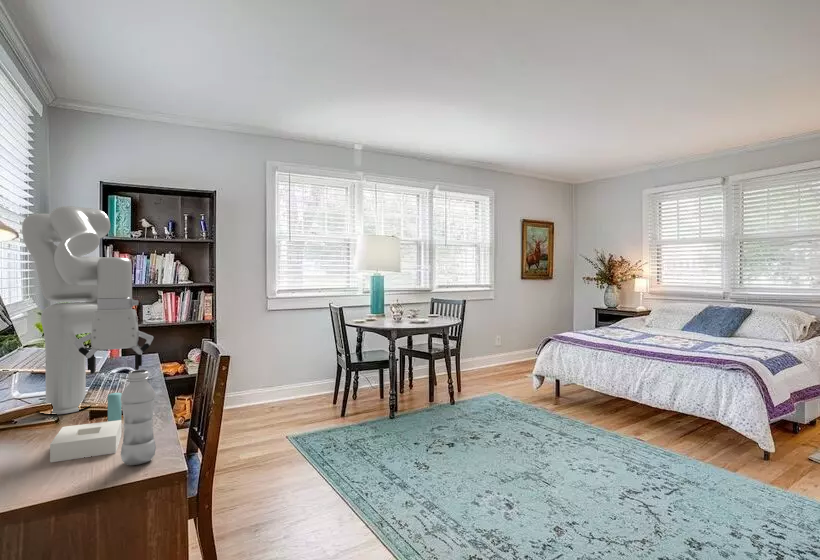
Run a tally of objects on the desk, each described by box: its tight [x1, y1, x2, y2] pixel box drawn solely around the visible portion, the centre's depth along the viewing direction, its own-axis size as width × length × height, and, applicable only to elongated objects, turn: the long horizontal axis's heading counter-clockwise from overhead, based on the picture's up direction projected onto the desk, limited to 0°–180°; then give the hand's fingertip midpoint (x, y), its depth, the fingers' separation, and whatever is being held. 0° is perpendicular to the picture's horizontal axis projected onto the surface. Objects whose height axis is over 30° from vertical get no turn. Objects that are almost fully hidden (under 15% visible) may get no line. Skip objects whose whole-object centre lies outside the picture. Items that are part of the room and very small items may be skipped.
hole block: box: [49, 419, 123, 463], centre depth 106 cm, size 12×12×4 cm
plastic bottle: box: [120, 369, 157, 466], centre depth 98 cm, size 6×7×20 cm
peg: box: [107, 392, 123, 422], centre depth 117 cm, size 3×3×10 cm
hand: (115, 370), depth 117 cm, fingers open, 9 cm apart
